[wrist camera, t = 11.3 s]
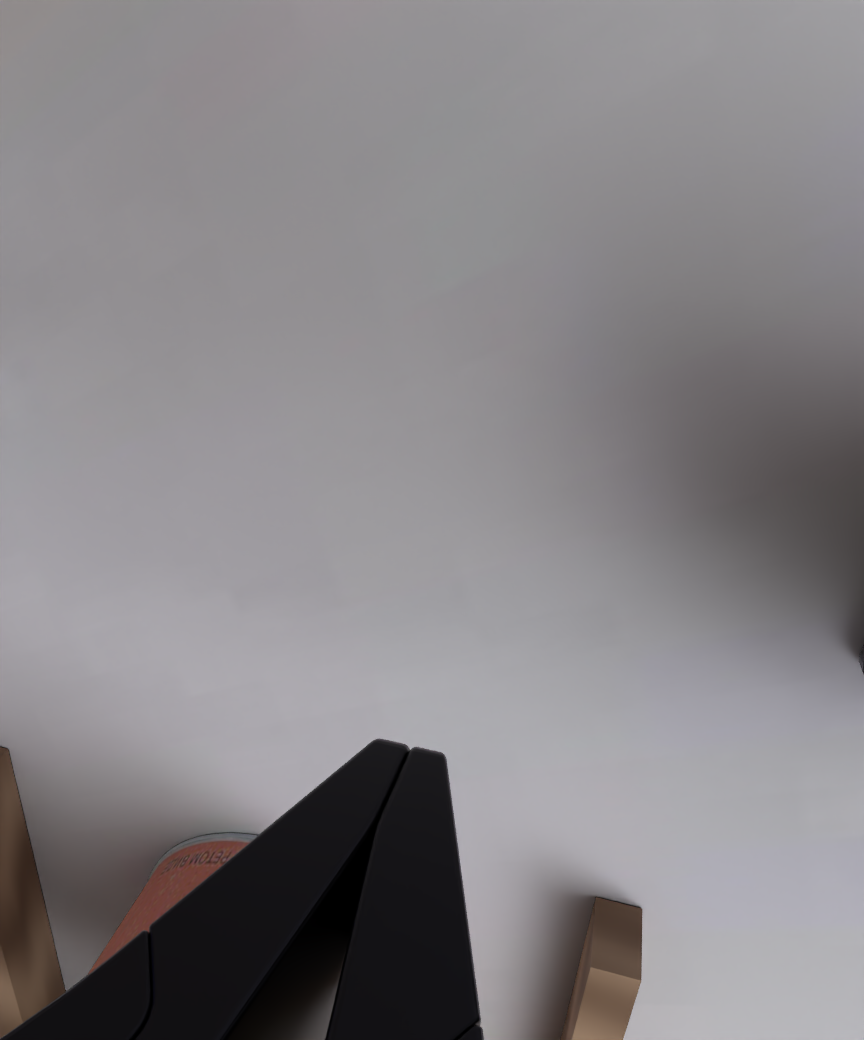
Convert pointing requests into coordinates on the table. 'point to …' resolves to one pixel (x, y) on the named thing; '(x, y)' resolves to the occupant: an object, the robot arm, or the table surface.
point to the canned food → (174, 882)
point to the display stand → (37, 982)
